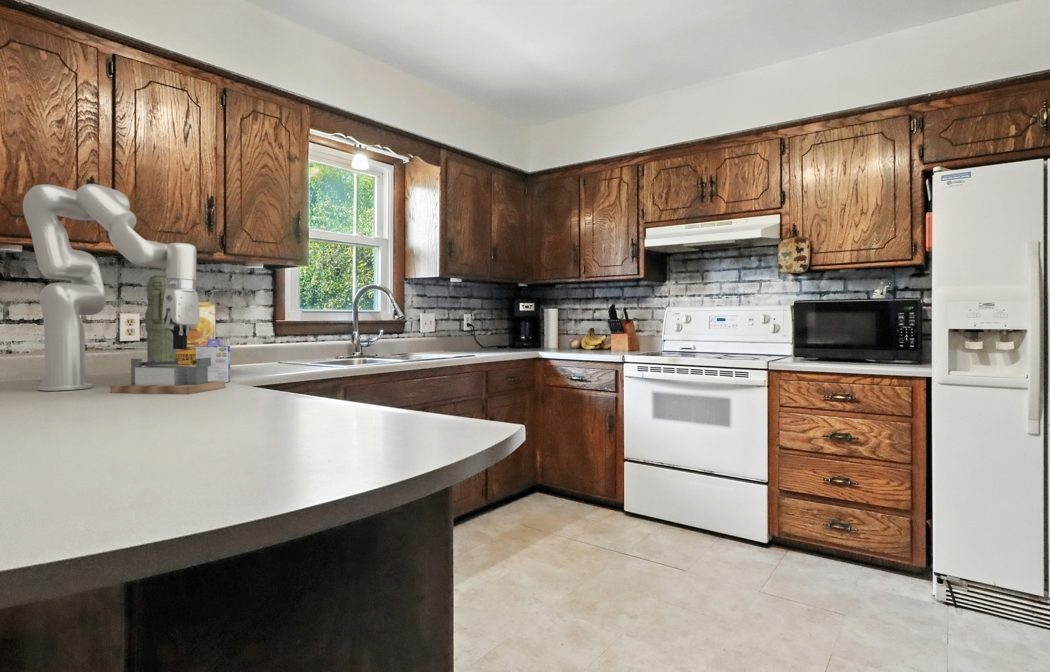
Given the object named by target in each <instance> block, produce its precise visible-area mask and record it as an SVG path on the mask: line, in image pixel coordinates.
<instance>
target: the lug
mask: <svg viewBox="0 0 1050 672" xmlns="http://www.w3.org/2000/svg"><path fill="white" fill-rule="evenodd" d="M208 366H211V358H198V359H196V367H188V374H189V385H198V384H205V383H208Z"/></svg>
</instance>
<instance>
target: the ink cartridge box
mask: <svg viewBox="0 0 1050 672" xmlns="http://www.w3.org/2000/svg"><path fill="white" fill-rule="evenodd" d="M210 341H215V343H209V342H210ZM220 342H221V339H220V338H215V339H208V342H207V346H197V347H196V359H198V358H211V366H208V381H225V383H229V382H231V377H232V376H231V345H221V344H220Z"/></svg>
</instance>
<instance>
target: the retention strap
mask: <svg viewBox="0 0 1050 672" xmlns="http://www.w3.org/2000/svg"><path fill="white" fill-rule="evenodd" d="M193 363H196V360H184V361H162V362H151V361H150V362H147V361H142V367H146V366H147V365H165V364H193Z"/></svg>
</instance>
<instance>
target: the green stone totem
mask: <svg viewBox="0 0 1050 672" xmlns="http://www.w3.org/2000/svg"><path fill="white" fill-rule="evenodd" d="M146 285H147V286H146V290H147V291H146V292H147V295H146V297H147V305H146V306H147V308H146V311H145V313H144V314H145V317H144V318H145V319H144V321H145V322H144V323H145V324H144V325H145V331H146V341H147V343H146V344H147V346H146V347H147V350H146V351H147V352H146V353H147V354H146V355H147V356H146V357H147V358H148V357H158V362H162V361H176V349H173V335H172V332H171V330H169V329H166V328H165V325H166V324H165V323H164V322H163V301H164V295H165V291H166V275H152V276H150V277H149V279H148V282H147V284H146ZM147 358H146V359H147ZM165 365H177V364H165ZM158 366H159V365H158ZM145 367H148V365H147V366H145Z"/></svg>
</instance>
